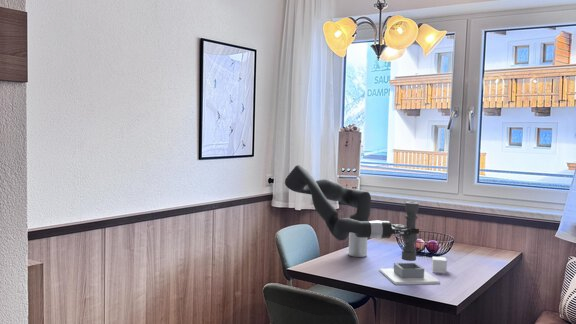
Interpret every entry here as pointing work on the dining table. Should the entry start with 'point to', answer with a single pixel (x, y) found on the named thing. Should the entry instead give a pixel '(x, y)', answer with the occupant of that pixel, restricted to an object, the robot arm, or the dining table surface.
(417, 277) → the collar board
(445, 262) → the white cube
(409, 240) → the candle holder
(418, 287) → the dining table surface
